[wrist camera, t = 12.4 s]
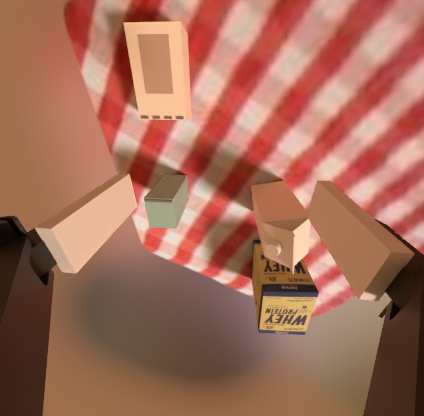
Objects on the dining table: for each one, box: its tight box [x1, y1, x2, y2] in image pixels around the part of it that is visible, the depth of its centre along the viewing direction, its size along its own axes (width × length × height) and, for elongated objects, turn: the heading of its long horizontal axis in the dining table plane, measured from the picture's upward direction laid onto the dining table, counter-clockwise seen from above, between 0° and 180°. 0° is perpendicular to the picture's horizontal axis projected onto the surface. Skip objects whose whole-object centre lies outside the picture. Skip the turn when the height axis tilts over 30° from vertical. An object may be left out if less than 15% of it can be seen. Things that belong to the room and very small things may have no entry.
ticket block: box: [123, 21, 191, 120], centre depth 30 cm, size 12×8×5 cm, turn 0°
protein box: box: [252, 240, 319, 335], centre depth 45 cm, size 10×16×16 cm
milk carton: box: [251, 181, 311, 274], centre depth 33 cm, size 7×7×19 cm
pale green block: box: [144, 174, 189, 228], centre depth 37 cm, size 6×5×12 cm
